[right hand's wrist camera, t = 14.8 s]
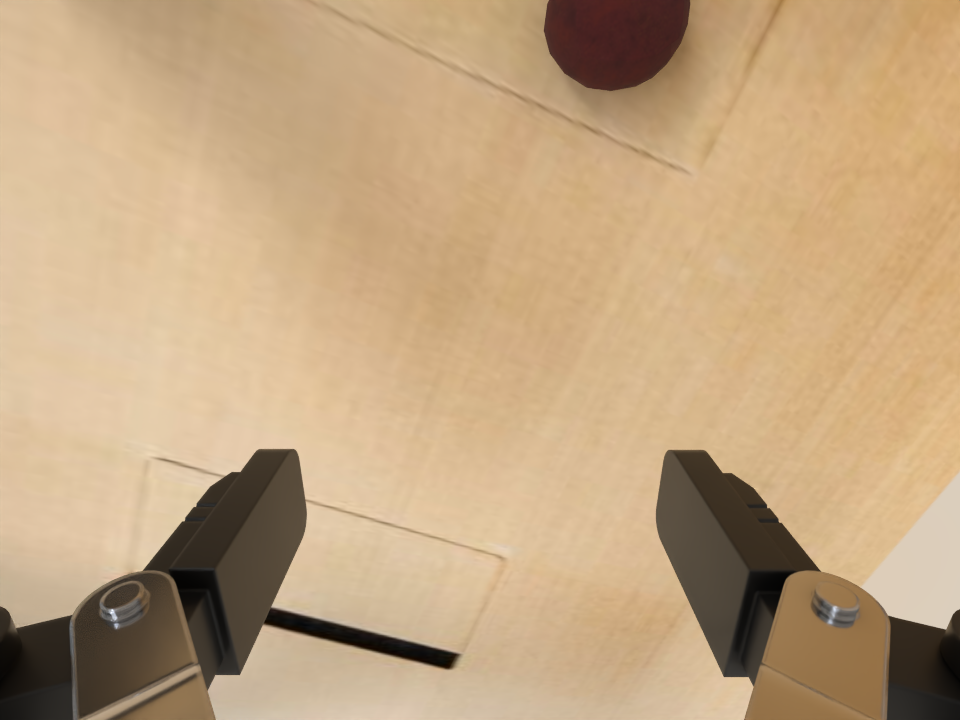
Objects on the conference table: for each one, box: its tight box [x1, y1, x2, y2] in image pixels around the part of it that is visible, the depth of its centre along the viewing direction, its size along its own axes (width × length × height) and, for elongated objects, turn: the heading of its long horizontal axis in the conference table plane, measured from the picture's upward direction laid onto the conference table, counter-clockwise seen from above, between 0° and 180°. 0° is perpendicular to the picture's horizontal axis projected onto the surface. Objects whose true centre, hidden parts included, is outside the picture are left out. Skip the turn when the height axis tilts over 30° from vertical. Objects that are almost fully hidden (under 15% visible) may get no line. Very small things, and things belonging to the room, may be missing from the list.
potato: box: [544, 0, 690, 91], centre depth 29 cm, size 7×8×7 cm
